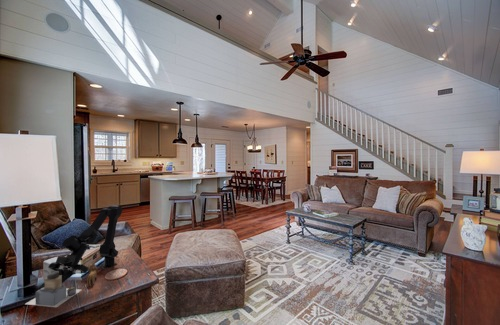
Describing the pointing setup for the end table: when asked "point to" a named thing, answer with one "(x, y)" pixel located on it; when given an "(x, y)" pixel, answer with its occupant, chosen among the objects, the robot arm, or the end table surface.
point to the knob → (53, 281)
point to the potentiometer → (71, 291)
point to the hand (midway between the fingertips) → (57, 285)
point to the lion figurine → (91, 274)
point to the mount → (51, 297)
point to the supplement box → (47, 270)
